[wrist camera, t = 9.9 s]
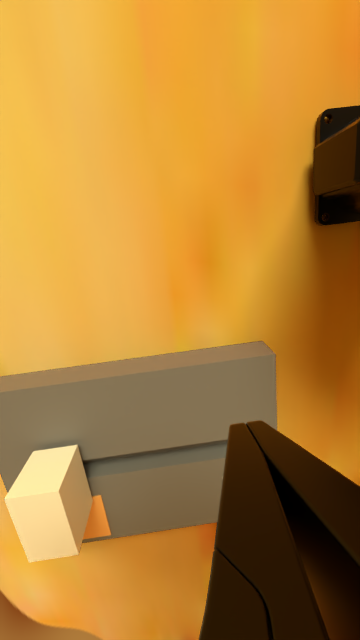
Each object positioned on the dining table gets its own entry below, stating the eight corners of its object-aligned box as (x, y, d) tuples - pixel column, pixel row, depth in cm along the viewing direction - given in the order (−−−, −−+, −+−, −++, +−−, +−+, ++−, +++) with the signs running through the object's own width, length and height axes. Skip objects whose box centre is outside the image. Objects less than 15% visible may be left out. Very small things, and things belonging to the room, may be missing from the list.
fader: (83, 429, 20) (58, 491, 15) (97, 482, 22) (78, 554, 17) (42, 435, 20) (4, 499, 15) (59, 488, 22) (29, 562, 17)
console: (262, 340, 21) (276, 354, 18) (267, 486, 25) (279, 513, 22) (-7, 377, 20) (-31, 397, 18) (43, 520, 24) (29, 552, 22)
